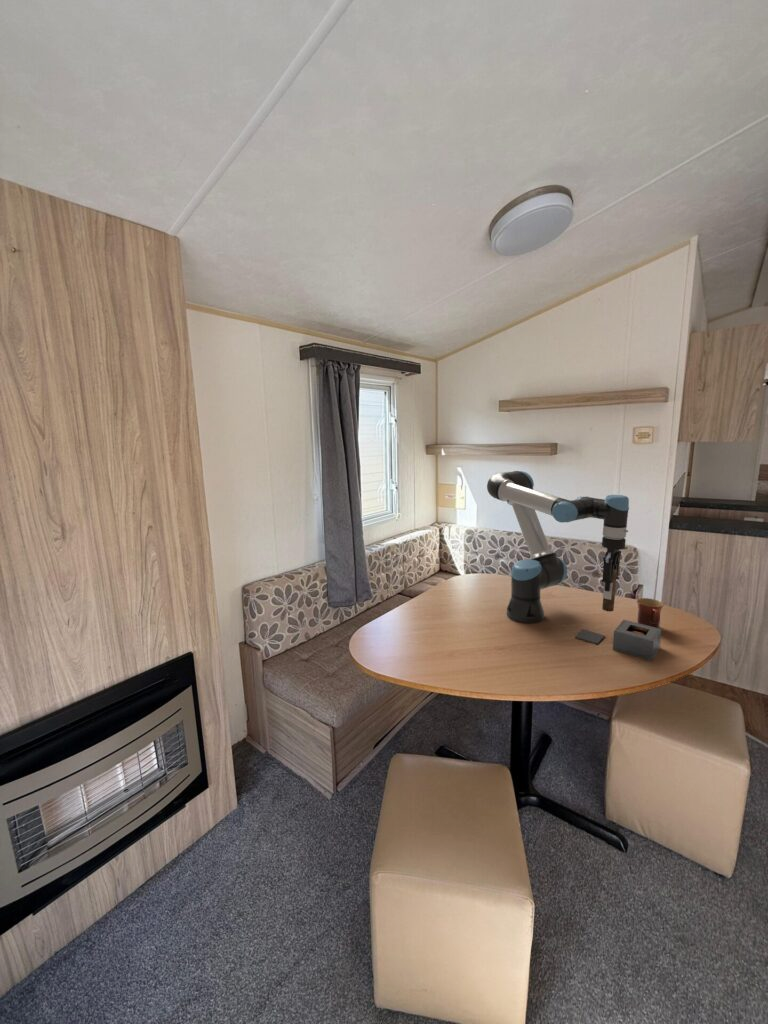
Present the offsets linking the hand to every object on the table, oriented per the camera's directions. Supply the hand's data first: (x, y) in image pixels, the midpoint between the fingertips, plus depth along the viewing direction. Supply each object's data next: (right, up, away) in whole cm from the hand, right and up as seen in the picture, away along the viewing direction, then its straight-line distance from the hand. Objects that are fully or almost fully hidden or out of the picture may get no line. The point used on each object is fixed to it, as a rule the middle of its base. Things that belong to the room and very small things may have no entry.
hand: (608, 596), depth 156 cm
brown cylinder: (0, -5, +1) cm, 5 cm away
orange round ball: (+4, -14, -10) cm, 18 cm away
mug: (+18, -14, +4) cm, 23 cm away
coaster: (-8, -15, -1) cm, 17 cm away
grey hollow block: (+4, -16, -10) cm, 20 cm away
